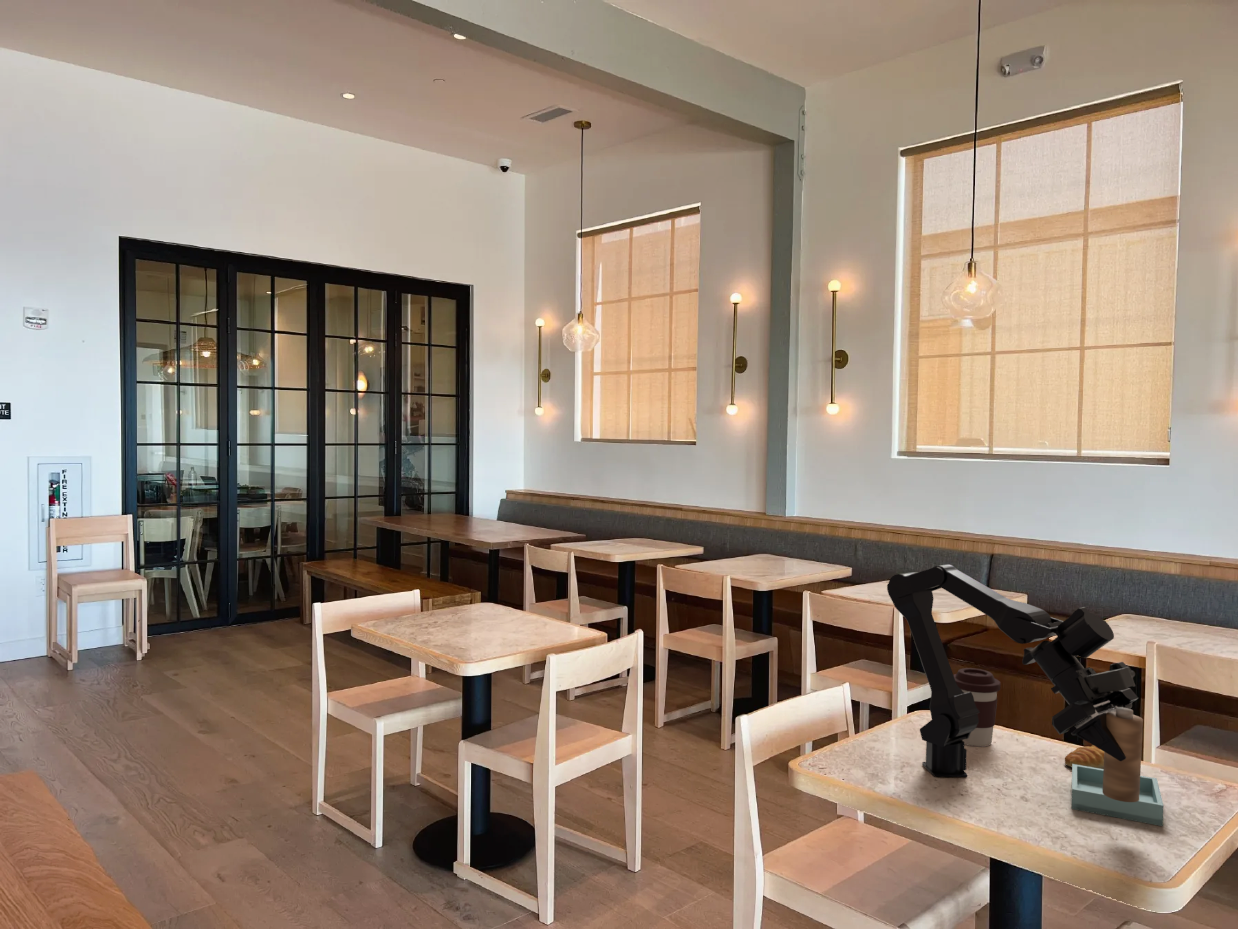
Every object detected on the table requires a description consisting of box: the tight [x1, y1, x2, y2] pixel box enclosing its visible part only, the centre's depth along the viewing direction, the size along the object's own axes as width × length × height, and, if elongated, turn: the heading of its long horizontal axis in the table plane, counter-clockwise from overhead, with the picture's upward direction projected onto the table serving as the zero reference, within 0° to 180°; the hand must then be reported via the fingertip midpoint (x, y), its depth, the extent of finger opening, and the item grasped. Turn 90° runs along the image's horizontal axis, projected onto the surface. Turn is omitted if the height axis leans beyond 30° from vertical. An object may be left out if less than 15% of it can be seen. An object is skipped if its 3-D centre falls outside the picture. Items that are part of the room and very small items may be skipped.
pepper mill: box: [1103, 707, 1144, 802], centre depth 141 cm, size 5×5×14 cm
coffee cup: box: [953, 667, 1001, 748], centre depth 185 cm, size 10×10×15 cm
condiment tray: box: [1070, 764, 1164, 827], centre depth 154 cm, size 14×14×4 cm
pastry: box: [1064, 744, 1104, 769], centre depth 172 cm, size 9×7×4 cm
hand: (1131, 756), depth 140 cm, fingers closed on pepper mill, 5 cm apart
